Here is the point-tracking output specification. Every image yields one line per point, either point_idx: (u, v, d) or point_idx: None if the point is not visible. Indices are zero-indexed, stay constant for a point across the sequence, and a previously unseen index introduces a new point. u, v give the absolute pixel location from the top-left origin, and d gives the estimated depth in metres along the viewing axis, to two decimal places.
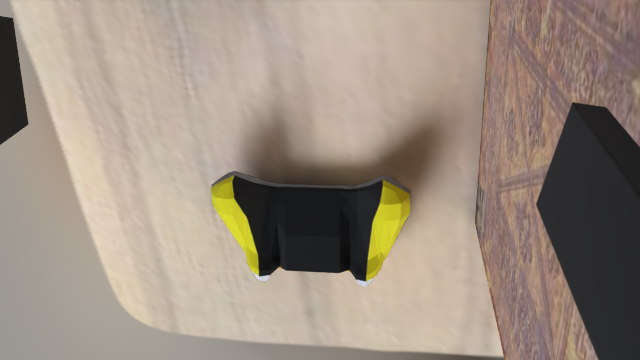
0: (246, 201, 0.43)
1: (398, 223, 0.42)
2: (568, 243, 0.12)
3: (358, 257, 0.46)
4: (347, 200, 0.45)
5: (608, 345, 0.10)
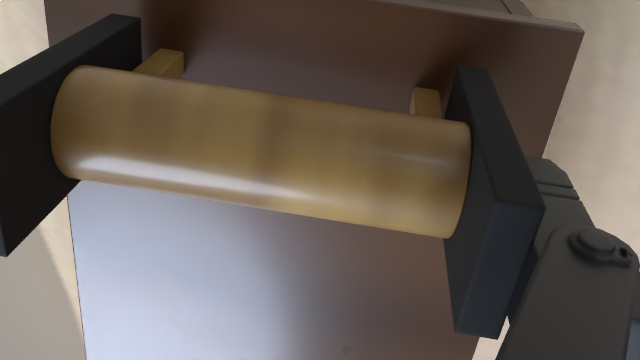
0: None
1: None
2: None
3: None
4: None
5: (453, 264, 0.11)
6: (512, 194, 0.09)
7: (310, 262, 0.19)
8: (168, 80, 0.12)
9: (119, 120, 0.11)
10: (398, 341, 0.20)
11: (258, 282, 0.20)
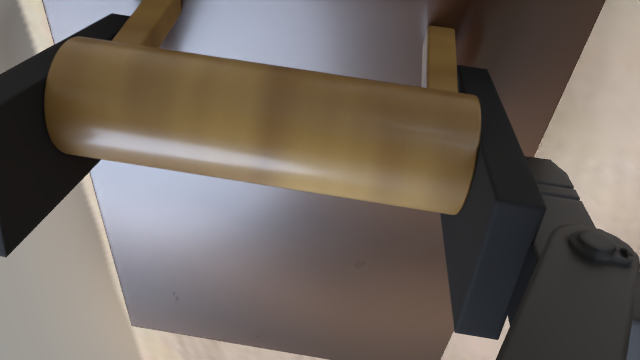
0: None
1: None
2: None
3: None
4: None
5: (453, 264, 0.11)
6: (512, 194, 0.09)
7: None
8: (160, 57, 0.11)
9: (113, 107, 0.11)
10: (408, 258, 0.21)
11: (272, 206, 0.20)
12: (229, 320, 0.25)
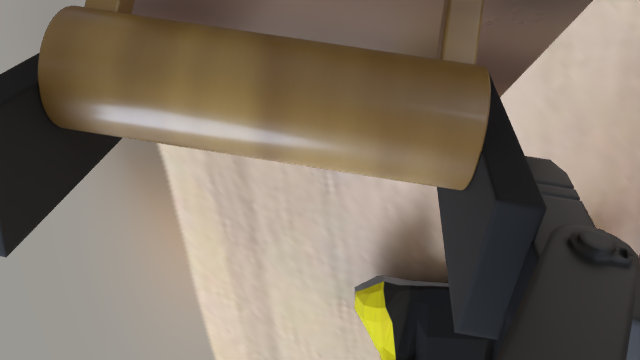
0: (394, 307, 0.41)
1: None
2: None
3: None
4: None
5: (453, 264, 0.11)
6: (512, 194, 0.09)
7: (346, 26, 0.18)
8: (146, 55, 0.10)
9: (111, 116, 0.11)
10: None
11: (296, 34, 0.19)
12: None
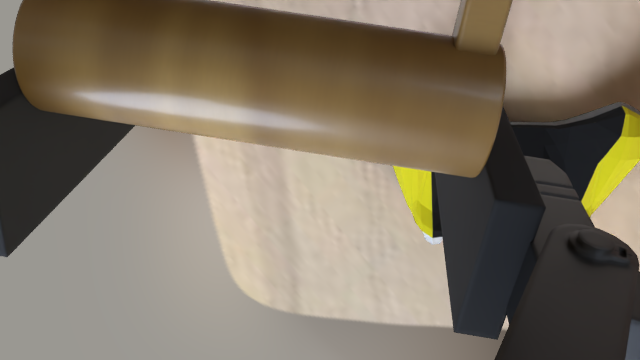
0: None
1: (635, 164, 0.33)
2: (444, 187, 0.13)
3: None
4: (554, 139, 0.35)
5: (453, 264, 0.11)
6: (511, 194, 0.09)
7: None
8: (124, 83, 0.10)
9: (109, 120, 0.11)
10: None
11: None
12: None
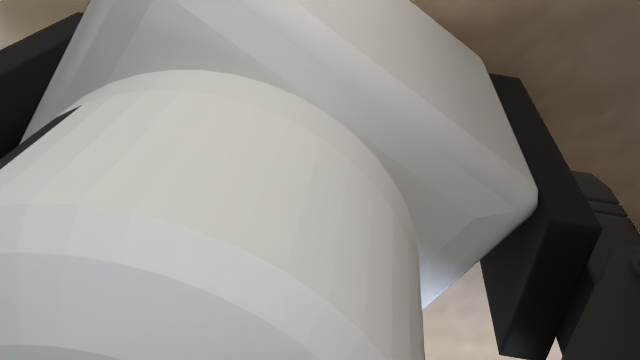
0: None
1: None
2: None
3: None
4: None
5: (494, 282, 0.11)
6: (565, 214, 0.09)
7: None
8: None
9: None
10: None
11: None
12: None
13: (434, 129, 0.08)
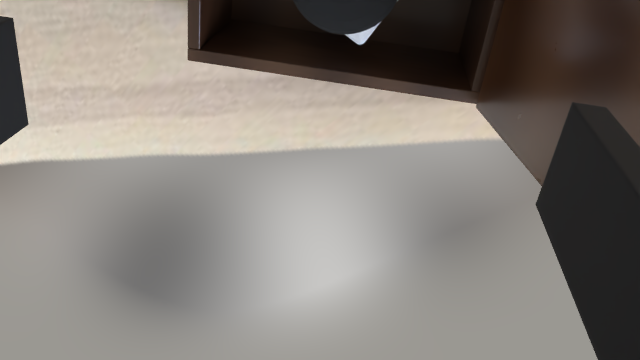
0: None
1: None
2: (568, 243, 0.12)
3: None
4: None
5: (608, 344, 0.10)
6: None
7: None
8: None
9: None
10: None
11: None
12: None
13: None
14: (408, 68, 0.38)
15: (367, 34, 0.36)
